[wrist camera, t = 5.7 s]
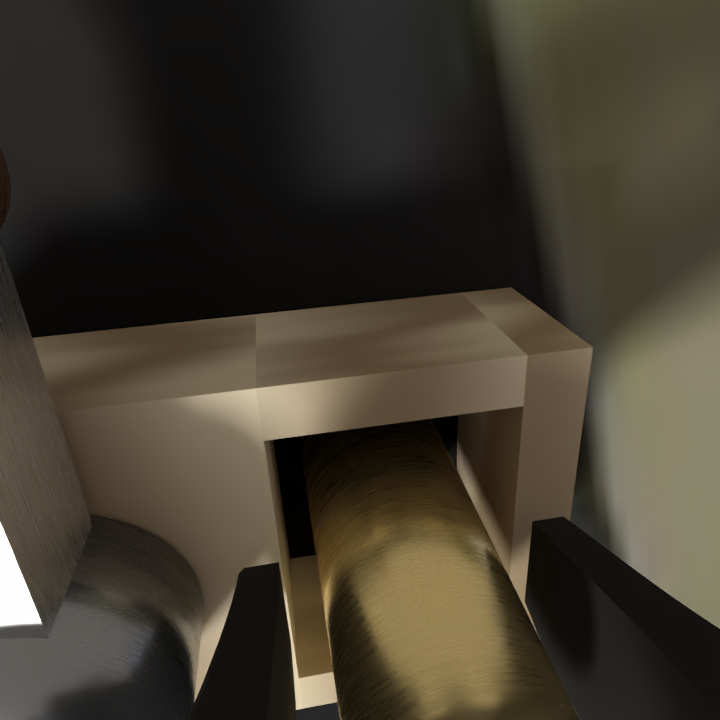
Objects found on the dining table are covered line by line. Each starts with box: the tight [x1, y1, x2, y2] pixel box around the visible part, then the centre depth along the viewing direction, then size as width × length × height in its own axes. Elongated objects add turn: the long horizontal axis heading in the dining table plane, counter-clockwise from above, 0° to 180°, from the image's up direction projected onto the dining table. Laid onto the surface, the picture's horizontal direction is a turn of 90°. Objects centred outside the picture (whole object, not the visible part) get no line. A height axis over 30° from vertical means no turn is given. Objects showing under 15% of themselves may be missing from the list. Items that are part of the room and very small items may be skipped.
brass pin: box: [302, 419, 579, 720], centre depth 11 cm, size 3×3×7 cm
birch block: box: [32, 287, 593, 710], centre depth 12 cm, size 12×8×4 cm, turn 93°
